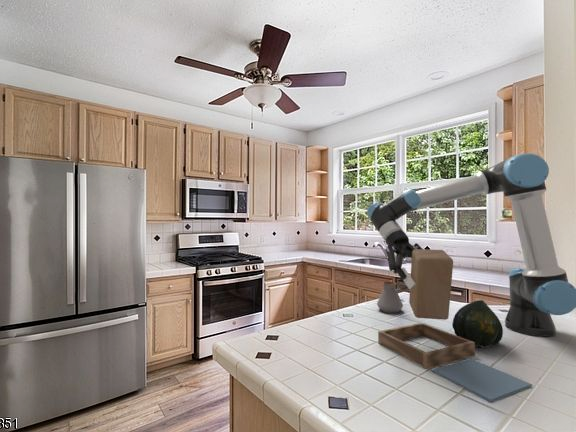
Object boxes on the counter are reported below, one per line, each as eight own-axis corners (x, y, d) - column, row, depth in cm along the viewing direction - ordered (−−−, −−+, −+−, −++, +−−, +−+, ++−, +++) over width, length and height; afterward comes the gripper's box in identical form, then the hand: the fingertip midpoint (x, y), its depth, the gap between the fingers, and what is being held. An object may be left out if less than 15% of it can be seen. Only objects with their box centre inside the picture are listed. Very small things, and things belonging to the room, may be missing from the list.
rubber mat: (471, 360, 92) (471, 358, 92) (531, 386, 77) (531, 384, 77) (432, 371, 85) (432, 369, 85) (490, 402, 71) (490, 399, 71)
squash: (448, 331, 101) (482, 298, 98) (440, 319, 115) (470, 290, 113) (486, 365, 97) (522, 332, 95) (473, 348, 111) (505, 319, 109)
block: (449, 321, 95) (454, 259, 90) (414, 319, 96) (418, 258, 92) (439, 305, 104) (444, 249, 100) (408, 303, 106) (411, 248, 102)
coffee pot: (371, 309, 146) (371, 277, 146) (390, 306, 151) (390, 275, 151) (406, 322, 127) (405, 285, 127) (426, 318, 131) (425, 283, 132)
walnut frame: (422, 333, 114) (422, 322, 114) (475, 355, 95) (474, 342, 95) (378, 343, 106) (378, 331, 106) (426, 368, 87) (426, 354, 87)
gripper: (414, 241, 120) (449, 287, 106) (361, 244, 110) (392, 295, 96) (424, 228, 115) (462, 274, 101) (371, 230, 105) (404, 281, 91)
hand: (428, 284), depth 99 cm, fingers closed on block, 13 cm apart
